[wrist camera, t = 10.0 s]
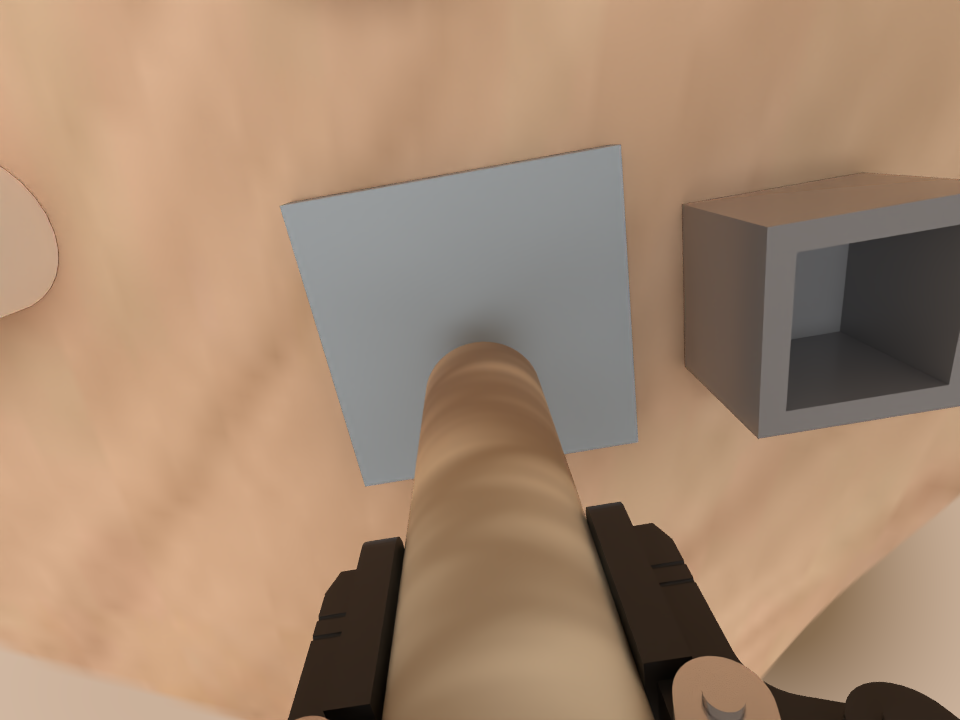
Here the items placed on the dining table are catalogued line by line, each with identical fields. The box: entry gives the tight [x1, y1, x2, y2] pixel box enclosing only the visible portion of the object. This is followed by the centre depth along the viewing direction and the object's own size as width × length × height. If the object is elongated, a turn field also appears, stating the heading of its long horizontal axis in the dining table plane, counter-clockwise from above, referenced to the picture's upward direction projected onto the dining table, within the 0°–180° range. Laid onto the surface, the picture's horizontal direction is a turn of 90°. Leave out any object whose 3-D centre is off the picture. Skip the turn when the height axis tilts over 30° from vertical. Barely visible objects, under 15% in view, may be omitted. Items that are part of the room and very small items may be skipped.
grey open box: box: [682, 173, 960, 439], centre depth 21 cm, size 8×8×7 cm
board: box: [280, 145, 638, 486], centre depth 24 cm, size 14×14×2 cm
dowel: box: [382, 342, 655, 720], centre depth 12 cm, size 4×4×13 cm
